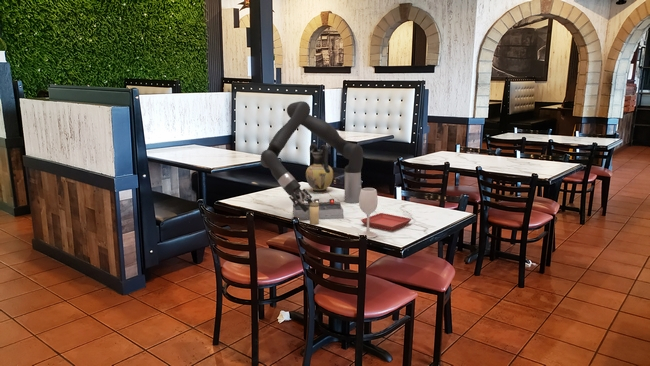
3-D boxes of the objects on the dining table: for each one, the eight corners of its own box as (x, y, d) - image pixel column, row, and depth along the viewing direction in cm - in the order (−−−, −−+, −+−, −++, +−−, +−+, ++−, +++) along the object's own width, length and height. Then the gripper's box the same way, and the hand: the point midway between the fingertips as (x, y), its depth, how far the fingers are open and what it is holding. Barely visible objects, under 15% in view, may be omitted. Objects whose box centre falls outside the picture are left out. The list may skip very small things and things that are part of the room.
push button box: (339, 211, 265) (339, 198, 263) (343, 218, 252) (343, 204, 251) (292, 213, 262) (292, 199, 260) (294, 220, 249) (293, 205, 248)
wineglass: (354, 235, 225) (354, 189, 220) (366, 231, 231) (367, 186, 226) (368, 239, 219) (369, 192, 214) (381, 235, 224) (382, 189, 220)
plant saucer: (380, 218, 253) (381, 212, 252) (412, 224, 242) (412, 218, 241) (359, 226, 239) (359, 219, 239) (391, 233, 228) (392, 226, 227)
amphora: (300, 192, 311) (299, 144, 305) (316, 187, 325) (316, 141, 318) (322, 196, 301) (322, 146, 295) (338, 191, 314) (339, 143, 308)
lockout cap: (318, 221, 246) (318, 202, 244) (319, 224, 242) (319, 204, 240) (309, 222, 245) (309, 202, 243) (310, 224, 241) (309, 204, 239)
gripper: (287, 181, 237) (309, 207, 235) (300, 176, 250) (321, 200, 248) (277, 191, 240) (299, 217, 238) (291, 185, 253) (311, 210, 251)
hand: (310, 208), depth 243 cm, fingers open, 8 cm apart
